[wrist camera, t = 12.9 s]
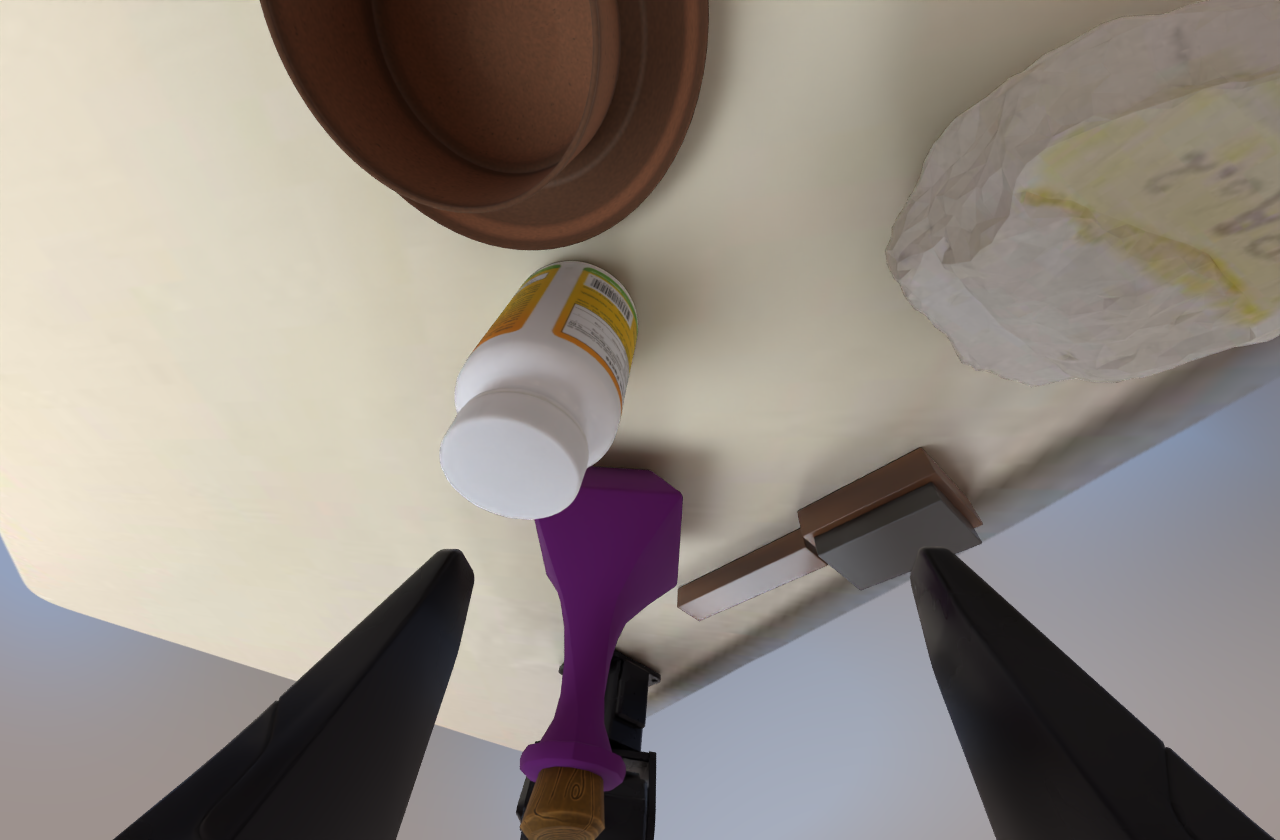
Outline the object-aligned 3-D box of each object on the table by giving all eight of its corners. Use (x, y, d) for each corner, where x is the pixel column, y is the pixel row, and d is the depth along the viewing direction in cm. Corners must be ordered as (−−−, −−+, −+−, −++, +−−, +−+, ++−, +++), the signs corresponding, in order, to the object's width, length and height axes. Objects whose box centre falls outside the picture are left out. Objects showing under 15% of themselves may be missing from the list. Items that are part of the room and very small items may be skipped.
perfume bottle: (678, 539, 29) (660, 994, 15) (560, 531, 30) (435, 960, 16) (684, 448, 25) (666, 977, 11) (544, 440, 25) (349, 930, 11)
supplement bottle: (522, 364, 23) (432, 525, 15) (512, 250, 19) (388, 382, 12) (635, 377, 22) (602, 547, 15) (644, 265, 19) (608, 408, 11)
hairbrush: (711, 611, 34) (712, 652, 31) (663, 579, 32) (661, 621, 30) (967, 497, 25) (996, 544, 23) (921, 446, 23) (946, 491, 21)
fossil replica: (1117, 345, 19) (1311, 31, 14) (1381, 478, 12) (1979, -50, 7) (821, 338, 19) (899, 21, 14) (918, 466, 12) (1149, -68, 7)
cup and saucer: (316, 141, 17) (170, 177, 13) (325, -430, 10) (-3, -854, 5) (616, 285, 20) (589, 361, 15) (791, -104, 13) (849, -202, 8)
